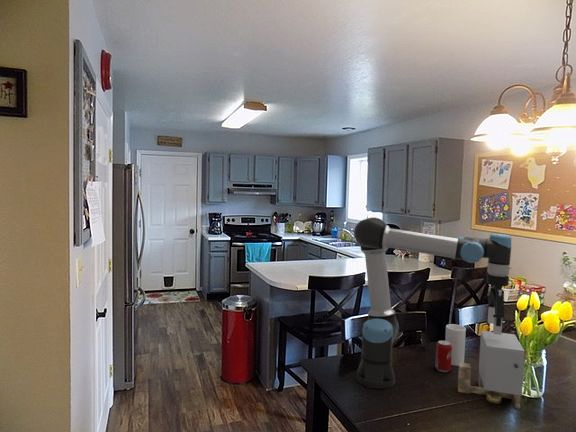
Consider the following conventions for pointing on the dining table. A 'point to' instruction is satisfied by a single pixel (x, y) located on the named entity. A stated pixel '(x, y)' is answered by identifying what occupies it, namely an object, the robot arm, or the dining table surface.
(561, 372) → the dining table surface
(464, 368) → the block
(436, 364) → the beverage can
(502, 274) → the robot arm
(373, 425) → the dining table surface
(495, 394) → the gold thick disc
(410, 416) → the dining table surface
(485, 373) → the cabinet
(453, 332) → the cup
